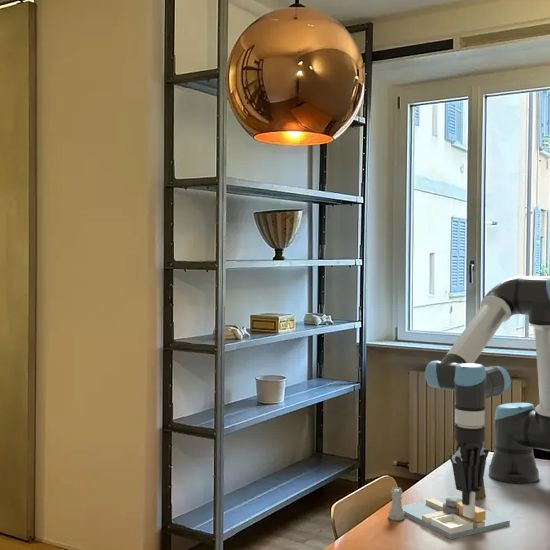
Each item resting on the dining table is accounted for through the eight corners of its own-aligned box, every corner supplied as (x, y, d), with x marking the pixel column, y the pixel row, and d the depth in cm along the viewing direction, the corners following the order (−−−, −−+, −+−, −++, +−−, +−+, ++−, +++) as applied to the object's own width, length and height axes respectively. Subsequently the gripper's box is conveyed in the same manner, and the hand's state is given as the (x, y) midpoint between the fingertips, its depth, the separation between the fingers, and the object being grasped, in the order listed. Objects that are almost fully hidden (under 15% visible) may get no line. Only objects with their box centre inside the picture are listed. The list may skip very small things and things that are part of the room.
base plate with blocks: (451, 499, 209) (451, 487, 209) (509, 524, 190) (509, 511, 190) (396, 511, 200) (396, 498, 199) (451, 539, 180) (451, 525, 180)
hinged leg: (442, 507, 194) (442, 498, 194) (454, 504, 197) (454, 496, 196) (474, 522, 184) (474, 513, 184) (487, 519, 186) (487, 510, 186)
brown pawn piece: (486, 500, 208) (487, 462, 208) (464, 498, 210) (465, 461, 209) (484, 493, 214) (485, 456, 214) (463, 492, 215) (464, 455, 215)
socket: (452, 519, 190) (452, 513, 190) (473, 528, 184) (473, 522, 184) (431, 524, 187) (431, 518, 187) (450, 534, 180) (450, 528, 180)
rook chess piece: (394, 522, 192) (394, 492, 191) (384, 516, 196) (385, 487, 195) (408, 519, 193) (408, 490, 193) (398, 514, 198) (399, 484, 197)
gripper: (474, 418, 191) (473, 506, 192) (441, 425, 184) (440, 517, 185) (498, 424, 185) (497, 515, 186) (464, 431, 178) (464, 526, 179)
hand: (468, 516), depth 185 cm, fingers closed
